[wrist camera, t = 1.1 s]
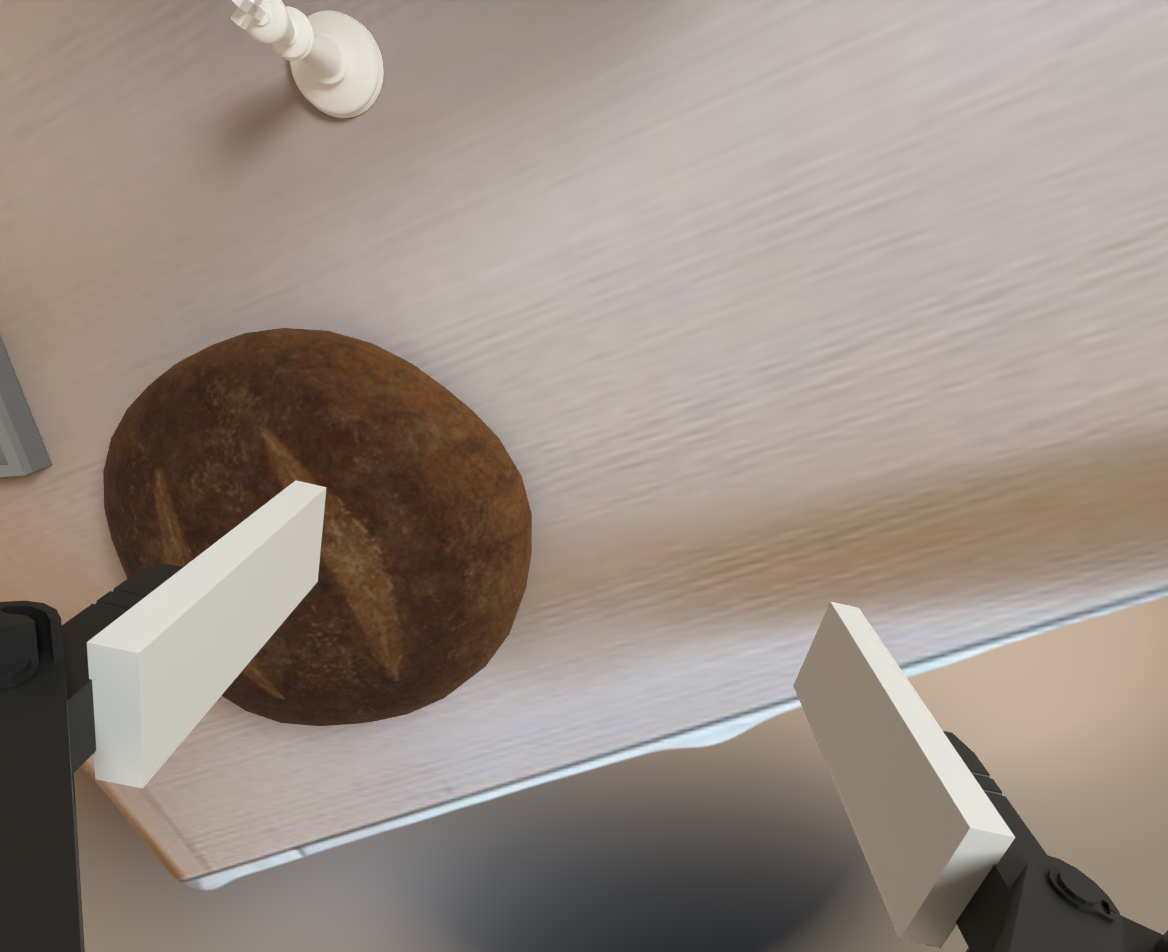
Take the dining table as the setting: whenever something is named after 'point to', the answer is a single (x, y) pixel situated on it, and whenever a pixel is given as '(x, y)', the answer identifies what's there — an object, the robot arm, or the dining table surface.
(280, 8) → the chess piece
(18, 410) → the tray
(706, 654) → the dining table surface
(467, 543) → the bread
